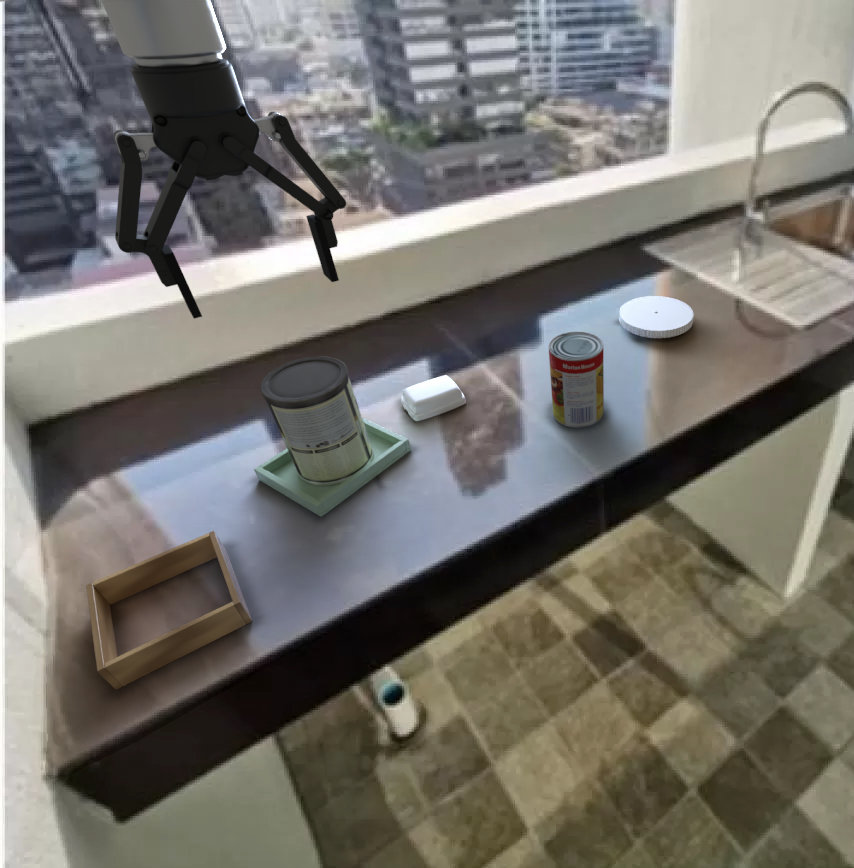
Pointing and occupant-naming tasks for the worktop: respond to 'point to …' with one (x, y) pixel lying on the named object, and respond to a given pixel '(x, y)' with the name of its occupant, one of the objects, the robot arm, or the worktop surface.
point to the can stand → (175, 641)
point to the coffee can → (318, 419)
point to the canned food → (577, 378)
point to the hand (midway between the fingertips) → (267, 294)
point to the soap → (432, 398)
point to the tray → (325, 498)
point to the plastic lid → (656, 317)
